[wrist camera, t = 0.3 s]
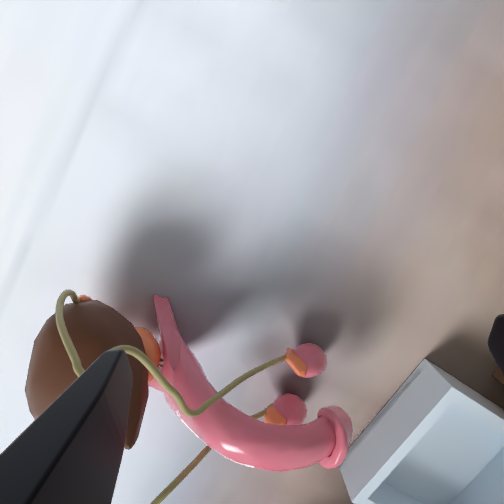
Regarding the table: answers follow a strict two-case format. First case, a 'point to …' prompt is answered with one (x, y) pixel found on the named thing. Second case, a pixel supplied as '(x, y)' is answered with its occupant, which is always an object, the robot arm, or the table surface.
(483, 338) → the table surface
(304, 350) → the anatomy model
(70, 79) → the table surface
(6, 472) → the robot arm
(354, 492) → the bin
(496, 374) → the walnut block
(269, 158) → the table surface
